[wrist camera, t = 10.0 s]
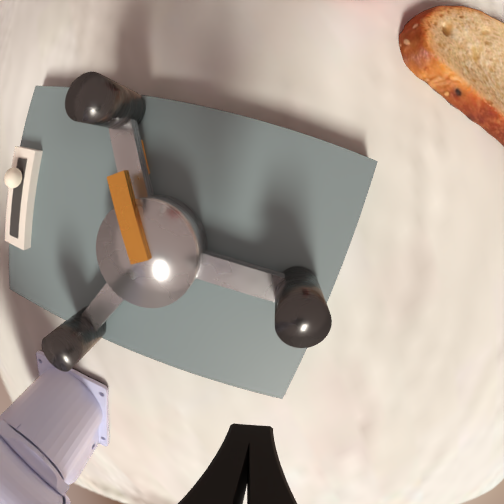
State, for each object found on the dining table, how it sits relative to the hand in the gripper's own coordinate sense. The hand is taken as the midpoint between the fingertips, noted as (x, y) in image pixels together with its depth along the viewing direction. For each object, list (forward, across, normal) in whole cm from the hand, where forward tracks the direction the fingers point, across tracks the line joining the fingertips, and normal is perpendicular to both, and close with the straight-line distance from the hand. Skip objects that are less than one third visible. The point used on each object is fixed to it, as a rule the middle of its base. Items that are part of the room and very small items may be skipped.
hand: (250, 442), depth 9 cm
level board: (+10, +7, -5) cm, 14 cm away
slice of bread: (+11, -19, -17) cm, 28 cm away
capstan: (+9, +7, -7) cm, 13 cm away
